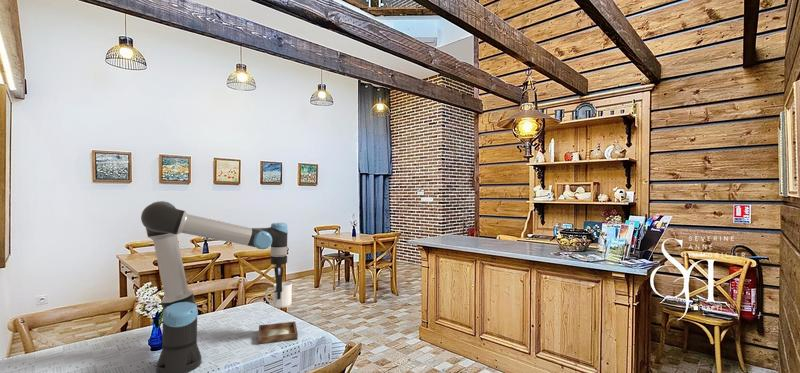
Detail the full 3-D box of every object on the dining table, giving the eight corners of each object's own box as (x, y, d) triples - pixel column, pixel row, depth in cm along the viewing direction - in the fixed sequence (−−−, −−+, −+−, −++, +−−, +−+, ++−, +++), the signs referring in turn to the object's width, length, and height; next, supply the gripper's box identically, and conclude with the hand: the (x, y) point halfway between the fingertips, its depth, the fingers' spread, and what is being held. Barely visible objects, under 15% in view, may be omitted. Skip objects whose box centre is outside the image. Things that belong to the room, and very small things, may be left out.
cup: (291, 307, 173) (291, 285, 173) (264, 309, 170) (264, 287, 170) (291, 302, 181) (292, 281, 181) (265, 303, 178) (266, 282, 178)
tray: (258, 344, 164) (258, 337, 164) (259, 331, 179) (259, 325, 179) (297, 339, 170) (297, 333, 170) (295, 327, 185) (295, 321, 185)
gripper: (288, 258, 167) (287, 308, 166) (286, 251, 186) (285, 296, 186) (270, 259, 164) (270, 310, 164) (270, 252, 184) (269, 297, 184)
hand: (278, 302), depth 175 cm, fingers closed on cup, 8 cm apart
